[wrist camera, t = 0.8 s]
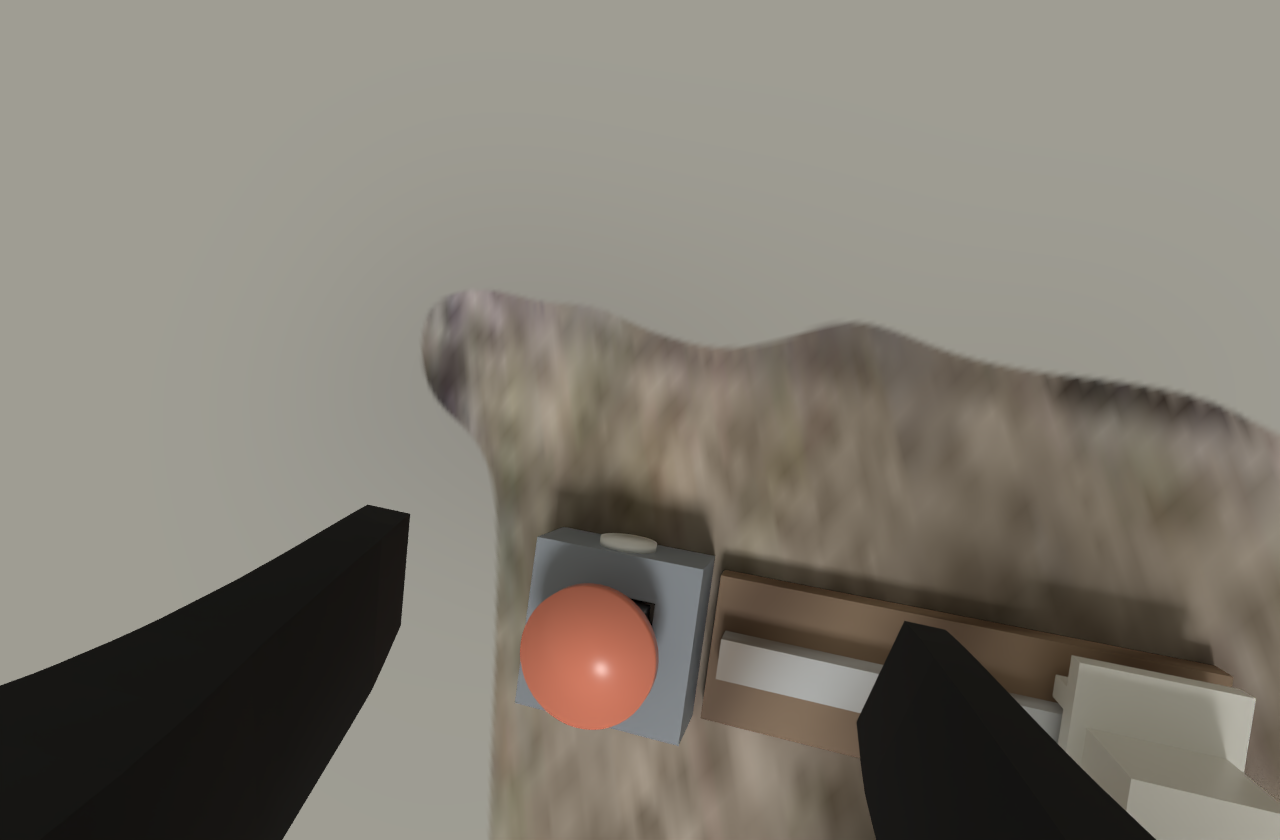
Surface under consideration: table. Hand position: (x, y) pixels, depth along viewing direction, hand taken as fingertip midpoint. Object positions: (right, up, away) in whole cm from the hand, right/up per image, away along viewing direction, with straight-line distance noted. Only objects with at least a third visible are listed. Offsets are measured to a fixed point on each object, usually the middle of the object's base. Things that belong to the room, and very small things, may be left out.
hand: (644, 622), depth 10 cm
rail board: (+12, -8, +18) cm, 23 cm away
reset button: (-1, -6, +19) cm, 20 cm away
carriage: (+17, -9, +15) cm, 24 cm away
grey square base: (-1, -6, +21) cm, 22 cm away
